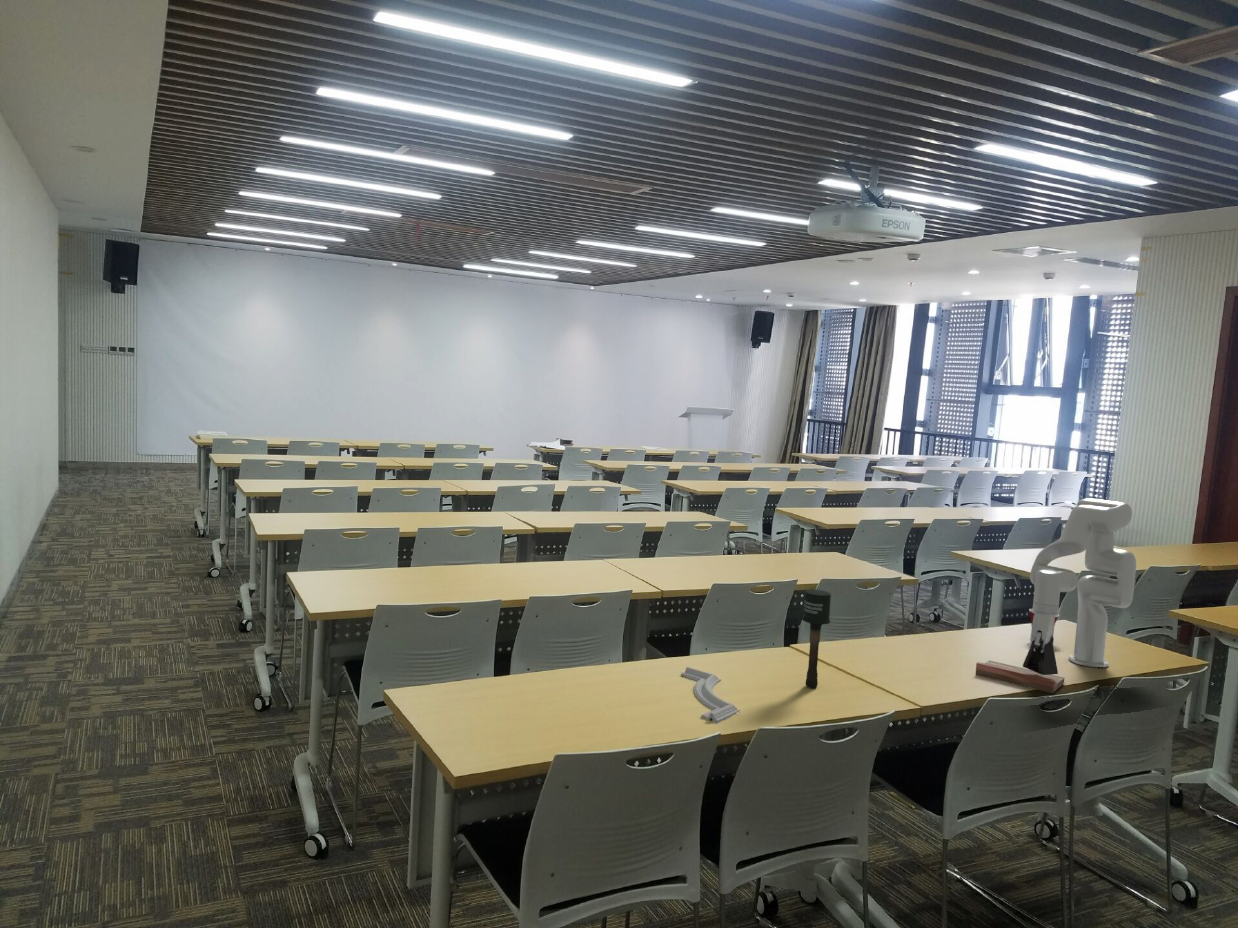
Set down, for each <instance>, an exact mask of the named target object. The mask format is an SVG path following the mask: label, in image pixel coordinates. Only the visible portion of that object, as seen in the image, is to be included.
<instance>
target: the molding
mask: <svg viewBox="0 0 1238 928" xmlns="http://www.w3.org/2000/svg"><path fill="white" fill-rule="evenodd" d="M682 676H683V677H682ZM680 677H682V678H685V679H688V680H691V679H692V681H696V683H695V684H694V686H693V687H694V688H693V692H694V695H695V697H696V699H697V700H698V701H699V702H700V703H701V704H703V706H705V707H706V708H708V709H710V708H711V709H710V711H708V712H706V713H704V714H702V715H700V718H702V719H704V718H705V720H707V719H709V720H711V719H712V722H713V721H714V723H717V724H719V723H721V722H723V721H725V720H727V719H729V718H731V717H733V716H732V715H734V714H736V713H737V712H739V711H740V712H741V710H740V709H739V708H737V707H736V706H735V705H734V704H732V703H730V702H727V701H725V700H723V699H722V698H720V697H718V696H717V695H715V694H714V692H713V689H714V687H715V686H717V684H719V683H721V682H722V679H721V678H718V676H717V675H716V674H714V673H709V672H706V671H703V670H699V669H696V668H692V667H690V666H687V667H686V668H685V671H684V672H681V674H680ZM720 681H721V682H720ZM718 682H719V683H718ZM736 715H737V714H736ZM730 716H731V717H730ZM734 716H735V715H734ZM726 718H727V719H726ZM724 719H725V720H724ZM709 720H708V721H709ZM722 720H723V721H722ZM720 721H721V722H720Z"/></svg>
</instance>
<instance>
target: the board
mask: <svg viewBox="0 0 1238 928" xmlns="http://www.w3.org/2000/svg"><path fill="white" fill-rule="evenodd" d="M975 663H976V665H975V674H976V676H979V677H983V676H984V678H988V679H992V680H996V679H997V680H996V681H1001V682H1004V683H1008V684H1013V685H1016V686H1020V687H1025V688H1029V689H1033V690H1038V691H1040V692H1041V691H1042V692H1045V693H1050V694H1054V693H1055V692H1056V691H1057V690H1058V689H1060V687H1062V686H1063V685H1064V684H1065V677H1063V676H1060V675H1056V674H1051V675H1041V674H1039V673H1036V672H1034V671H1032V670H1029V669H1027V668H1025V667H1019V666H1015V665H1012V664H1007V663H1002V662H998V661H994V660H987V661H985V662H979V661H977V662H975ZM1063 683H1064V684H1063ZM1061 685H1062V686H1061Z"/></svg>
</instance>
